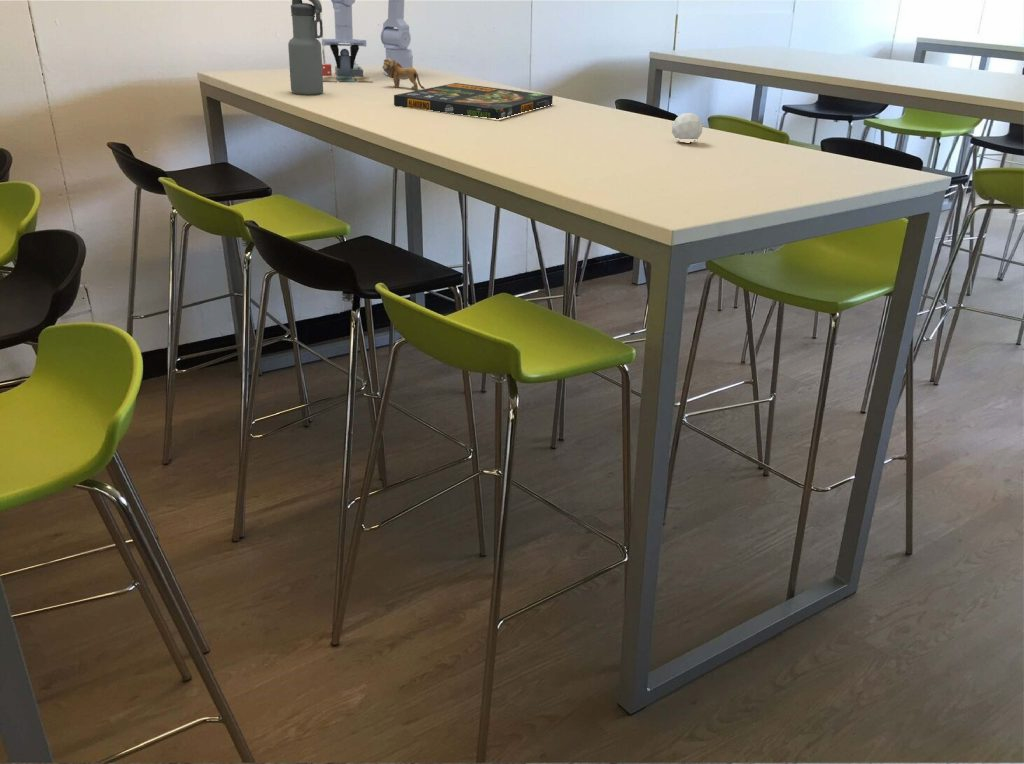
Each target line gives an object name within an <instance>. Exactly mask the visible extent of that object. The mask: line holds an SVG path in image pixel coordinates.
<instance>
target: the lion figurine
mask: <svg viewBox="0 0 1024 764" xmlns="http://www.w3.org/2000/svg"><path fill="white" fill-rule="evenodd" d="M382 69H383V72H384V71H385V72H386V73H387V74H388V75H389V76H388V77H389V78H390V79H392V80H393V83H394V85H393V86H392V88H393V89H397V88H399V87H400V81H401V80H405V81H406V80H409V81H410V83H412V84H413V86H411V88H410V89H413V91H418V90H419V89H418V86H419V87H420V88H421V90H423V89H426V88H425V86H422V85H421V82H420V78H419V74H418V72H417V70H416V69H415V68H414V67H413V68H403V67H402V66H401V65H400V64H399V63H397V62H396V61H395V60H393V59H390V58H387V59H386V58H385V59H383V65H382ZM417 82H418V83H417Z"/></svg>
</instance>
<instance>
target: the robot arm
mask: <svg viewBox="0 0 1024 764" xmlns="http://www.w3.org/2000/svg"><path fill="white" fill-rule="evenodd" d="M330 1H331V3H332V8H333V10H334V30H335V31H334V32H335V35H334V36H335V38H321V46H325V47H327V46H329V47H330V50H331V53H332V55H333V57H334V60H335V64H336V65H335V66H337V69H340V65H339V55H340V53H339V52H340V51H339V50H340V48H339V46H340V47H342V46H343V47H349V48H350V49H349V51H350V52H349V54H350V56H351V69H353V67H354V61H356V57H357V54H358V52H359V50H360V47H367V40H366V39H354V35H353V34H354V33H353V7H352V6H353V4H355V2H356V0H330ZM404 17H405V0H388V8H387V19H386V20H385V21H383V24H382V30H381V31H380V40H381V43H382V45H383V47H384V48H385V59H387V58H390V59H393V60H395V61H396V62H397V63H399V64H400V65H401V66H402V67H403V68H414V67H413V64H414V63H413V51H412V49H411V48H408V47H409V46H410V44H411V39H412V38H411V33H410V26H409V24H408V23H407V22H406V20H405V19H404ZM383 73H384V74H385V75H386V76H387V77H389V75H388V74H387V73H386V72H385V71H384V70H383Z"/></svg>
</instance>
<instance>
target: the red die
mask: <svg viewBox="0 0 1024 764" xmlns="http://www.w3.org/2000/svg"><path fill="white" fill-rule="evenodd" d="M322 74H323V76H332V64H331V63H322Z"/></svg>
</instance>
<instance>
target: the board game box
mask: <svg viewBox="0 0 1024 764" xmlns="http://www.w3.org/2000/svg"><path fill="white" fill-rule="evenodd" d="M553 97H554V95H552V94H551V95H550V94H546V93H537V92H529V91H522V90H514V89H508V88H507V89H506V88H505V89H504V88H499V87H491V86H483V85H474V84H466V83H465V84H464V83H459V82H453V83H450V84H449V83H448V84H444V85H439V86H435V87H433V86H432V87H428V88H425V89H418V90H413V91H412V90H411V91H409V92H403V93H398V94H394V95H393V106H394V105H395V107H399V106H402V107H401V108H406V107H410V108H409V109H413V108H419V109H418V110H420V109H426V110H425V111H427V110H433V111H432V112H434V111H440V112H439V113H441V112H447V113H454V114H463V115H470V116H478V117H487V118H496V119H499V118H503V117H507V116H511V115H514V114H518V113H521V112H525V111H529V110H533V109H536V108H540V107H544V106H548V105H551V104H552V105H553V100H554V98H553ZM548 107H549V106H548ZM447 113H446V114H447ZM454 114H453V115H454Z"/></svg>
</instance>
